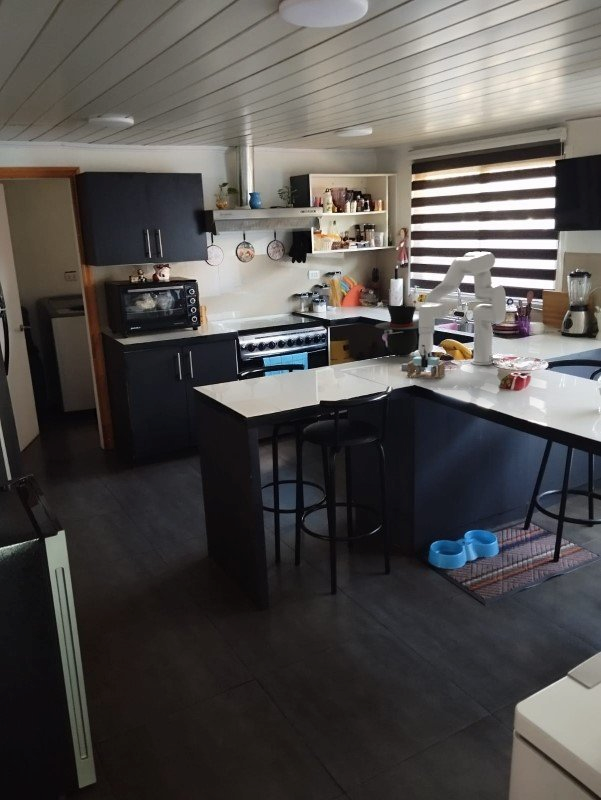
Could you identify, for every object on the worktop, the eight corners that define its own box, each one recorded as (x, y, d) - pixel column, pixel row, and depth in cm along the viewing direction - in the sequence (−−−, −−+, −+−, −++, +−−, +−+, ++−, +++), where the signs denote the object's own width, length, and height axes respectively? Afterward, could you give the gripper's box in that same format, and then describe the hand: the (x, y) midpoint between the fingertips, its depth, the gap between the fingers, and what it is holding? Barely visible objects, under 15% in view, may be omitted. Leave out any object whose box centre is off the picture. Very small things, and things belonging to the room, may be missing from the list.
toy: (376, 351, 383) (376, 302, 375) (428, 350, 377) (428, 300, 370) (374, 361, 354) (373, 308, 346) (429, 360, 348) (429, 307, 340)
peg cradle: (445, 375, 314) (445, 361, 312) (440, 379, 306) (440, 365, 304) (412, 373, 321) (412, 359, 319) (406, 376, 314) (406, 363, 312)
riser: (425, 370, 326) (425, 364, 325) (423, 371, 323) (423, 365, 323) (403, 368, 332) (403, 363, 331) (401, 370, 329) (401, 364, 328)
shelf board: (439, 363, 312) (439, 357, 311) (436, 365, 307) (436, 359, 306) (416, 362, 317) (416, 356, 316) (412, 364, 312) (412, 358, 312)
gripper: (424, 327, 316) (423, 362, 321) (413, 332, 302) (413, 369, 307) (438, 327, 313) (438, 362, 318) (429, 333, 298) (428, 370, 303)
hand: (426, 365), depth 312 cm, fingers closed on shelf board, 5 cm apart
